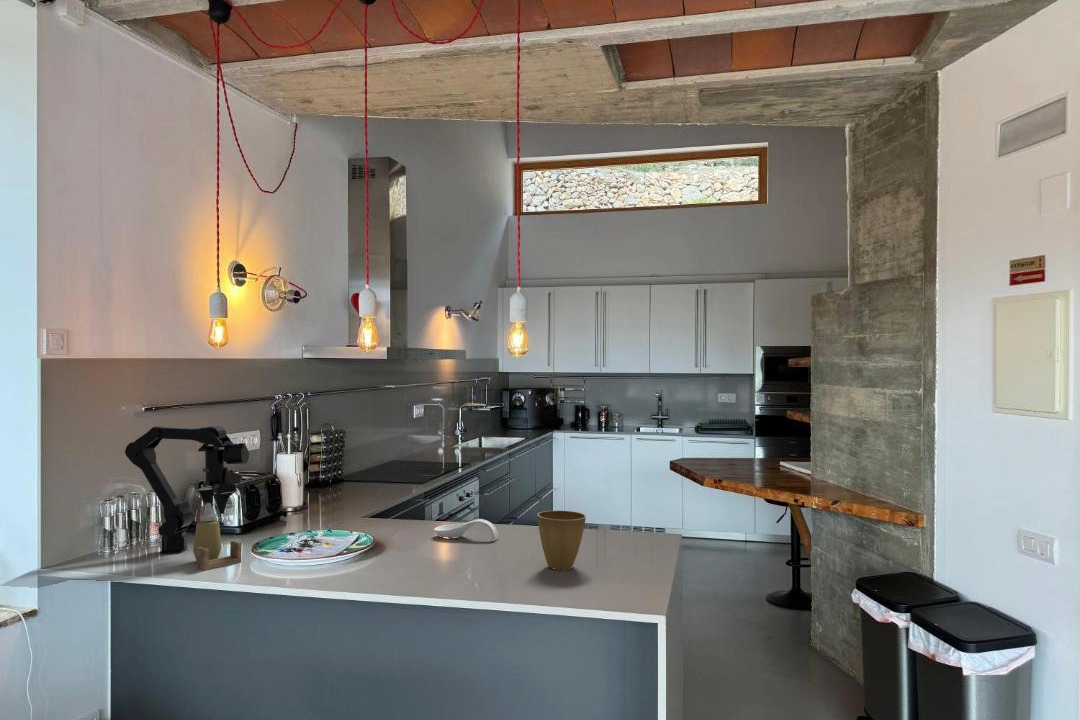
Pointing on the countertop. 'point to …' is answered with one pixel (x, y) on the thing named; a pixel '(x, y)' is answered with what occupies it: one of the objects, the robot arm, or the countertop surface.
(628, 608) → the countertop surface
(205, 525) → the squeeze bottle
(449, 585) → the countertop surface
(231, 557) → the u rest
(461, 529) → the spoon rest
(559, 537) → the plant pot
